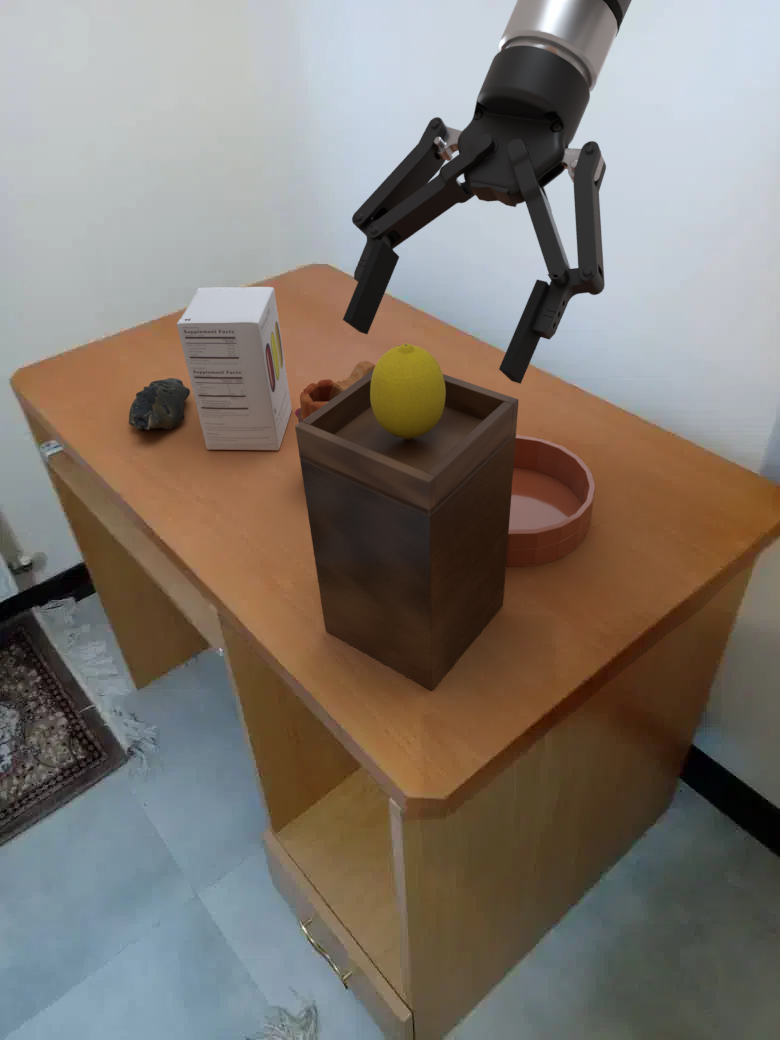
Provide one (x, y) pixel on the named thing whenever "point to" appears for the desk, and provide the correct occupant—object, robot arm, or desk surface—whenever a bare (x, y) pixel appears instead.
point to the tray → (408, 442)
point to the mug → (328, 390)
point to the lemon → (407, 391)
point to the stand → (411, 566)
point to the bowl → (547, 502)
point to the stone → (159, 405)
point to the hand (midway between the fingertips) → (428, 351)
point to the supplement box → (237, 367)
